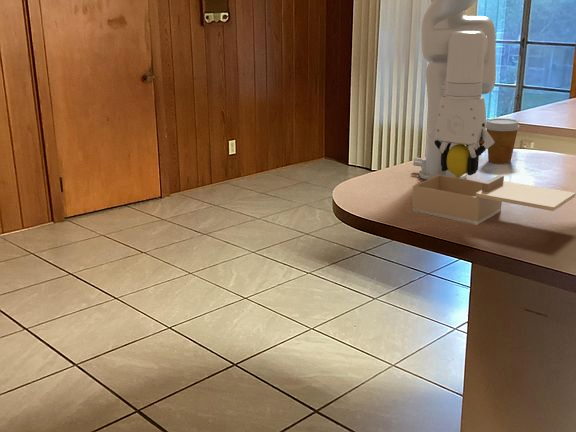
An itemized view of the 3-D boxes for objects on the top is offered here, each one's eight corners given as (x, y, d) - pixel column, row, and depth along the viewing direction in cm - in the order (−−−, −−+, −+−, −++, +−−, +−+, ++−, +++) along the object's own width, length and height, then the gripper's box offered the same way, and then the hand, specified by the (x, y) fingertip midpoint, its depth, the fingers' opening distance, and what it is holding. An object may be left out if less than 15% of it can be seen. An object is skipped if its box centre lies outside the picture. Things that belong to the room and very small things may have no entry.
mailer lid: (475, 196, 139) (476, 184, 138) (500, 184, 148) (501, 172, 147) (553, 211, 129) (554, 198, 128) (575, 196, 138) (576, 184, 137)
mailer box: (411, 210, 151) (412, 185, 149) (437, 198, 159) (439, 174, 158) (477, 224, 141) (479, 198, 139) (500, 211, 149) (503, 185, 147)
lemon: (471, 175, 149) (474, 140, 147) (470, 181, 144) (472, 145, 142) (446, 174, 151) (448, 139, 148) (444, 180, 146) (446, 144, 143)
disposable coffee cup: (514, 158, 197) (518, 118, 193) (517, 166, 188) (521, 124, 184) (481, 157, 199) (484, 117, 195) (483, 165, 190) (486, 123, 186)
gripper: (419, 89, 144) (416, 169, 150) (494, 95, 133) (487, 181, 139) (436, 86, 150) (432, 163, 155) (509, 91, 139) (502, 174, 144)
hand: (458, 171), depth 147 cm, fingers closed on lemon, 5 cm apart
